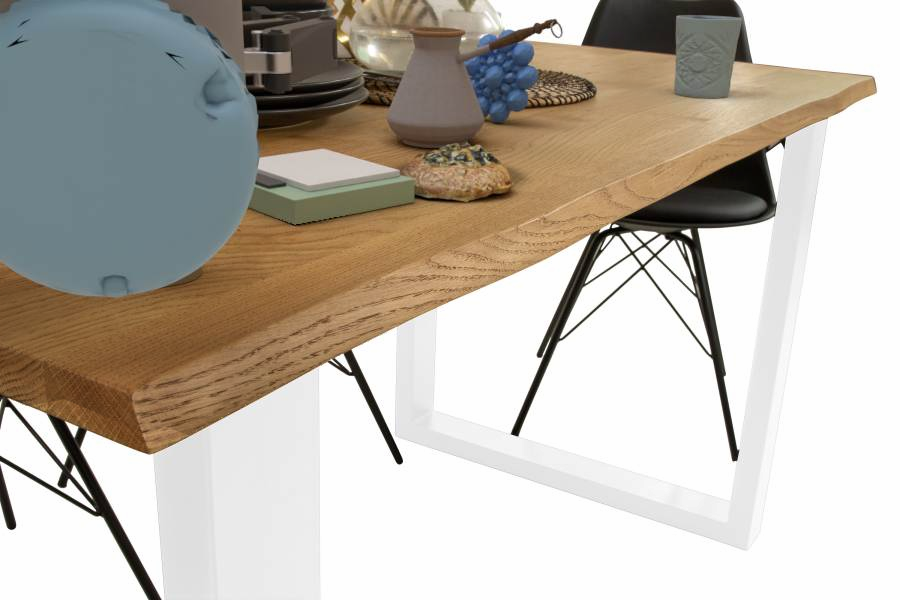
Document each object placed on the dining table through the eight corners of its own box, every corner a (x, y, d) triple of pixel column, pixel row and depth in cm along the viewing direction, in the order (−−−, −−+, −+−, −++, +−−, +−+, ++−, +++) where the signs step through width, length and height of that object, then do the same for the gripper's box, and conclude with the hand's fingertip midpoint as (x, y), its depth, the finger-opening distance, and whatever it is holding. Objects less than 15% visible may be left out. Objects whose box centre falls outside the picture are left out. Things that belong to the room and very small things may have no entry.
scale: (295, 226, 84) (294, 193, 83) (204, 190, 94) (203, 161, 93) (414, 202, 92) (415, 172, 91) (319, 172, 102) (318, 145, 101)
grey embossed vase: (690, 99, 155) (698, 19, 151) (656, 90, 164) (663, 14, 160) (746, 98, 158) (755, 19, 154) (710, 88, 167) (718, 14, 163)
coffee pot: (366, 143, 117) (366, 9, 112) (422, 129, 126) (424, 5, 121) (527, 168, 106) (534, 22, 101) (575, 151, 115) (584, 16, 110)
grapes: (552, 124, 132) (558, 30, 128) (523, 131, 127) (528, 33, 123) (481, 113, 139) (484, 23, 134) (451, 119, 134) (453, 26, 129)
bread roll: (441, 167, 104) (446, 121, 102) (532, 199, 99) (539, 150, 97) (373, 191, 96) (377, 141, 94) (468, 227, 91) (476, 174, 88)
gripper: (-239, 194, 35) (-99, 102, 55) (447, 168, 42) (356, 94, 61) (-288, -31, 33) (-122, -44, 52) (450, -23, 39) (354, -37, 58)
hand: (135, 30), depth 57 cm, fingers open, 13 cm apart
